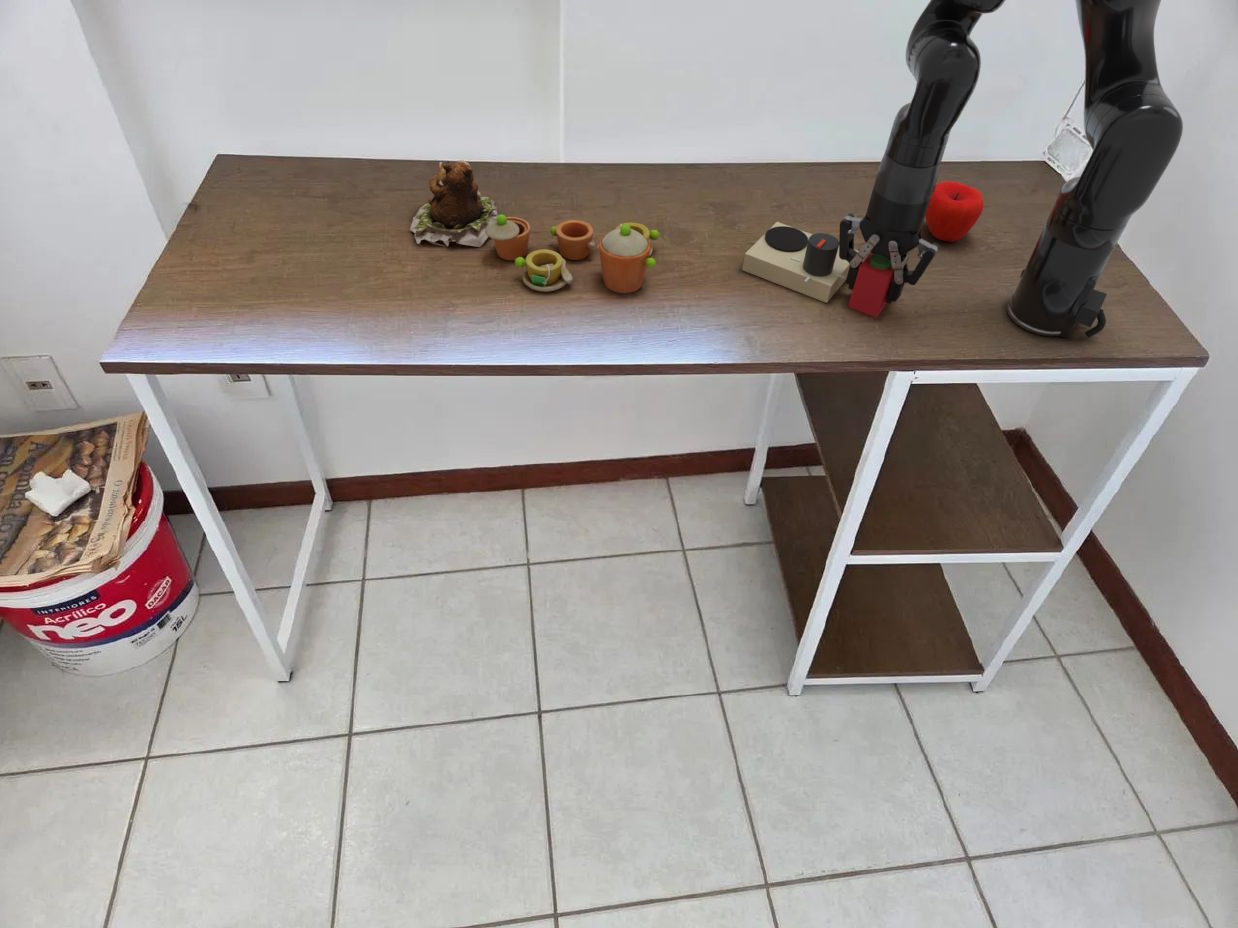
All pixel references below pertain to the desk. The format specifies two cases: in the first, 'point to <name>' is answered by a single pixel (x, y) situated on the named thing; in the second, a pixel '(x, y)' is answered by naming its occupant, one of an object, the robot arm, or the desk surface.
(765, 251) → the hob
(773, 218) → the desk surface
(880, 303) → the red block green button
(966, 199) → the apple
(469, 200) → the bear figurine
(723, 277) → the desk surface
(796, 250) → the burner
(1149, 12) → the robot arm
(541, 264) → the toy tea set
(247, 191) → the desk surface
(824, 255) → the hob knob
